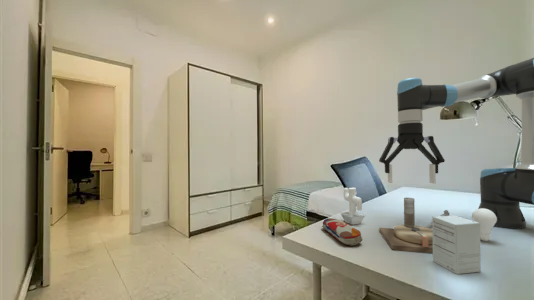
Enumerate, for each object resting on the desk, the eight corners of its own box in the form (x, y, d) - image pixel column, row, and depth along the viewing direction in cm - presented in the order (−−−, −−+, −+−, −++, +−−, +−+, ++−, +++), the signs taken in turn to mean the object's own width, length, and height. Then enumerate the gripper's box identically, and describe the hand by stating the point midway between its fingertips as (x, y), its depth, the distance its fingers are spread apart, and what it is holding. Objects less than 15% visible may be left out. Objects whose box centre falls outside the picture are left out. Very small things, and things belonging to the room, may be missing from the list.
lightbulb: (473, 236, 84) (473, 205, 84) (497, 240, 80) (497, 208, 80) (471, 240, 80) (471, 208, 80) (496, 246, 75) (496, 211, 75)
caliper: (447, 224, 98) (446, 209, 98) (450, 225, 97) (449, 209, 97) (419, 233, 88) (419, 216, 88) (422, 234, 87) (422, 217, 87)
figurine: (353, 227, 95) (353, 190, 95) (338, 220, 104) (338, 186, 104) (367, 224, 98) (367, 188, 98) (351, 218, 107) (351, 185, 107)
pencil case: (330, 247, 76) (329, 232, 76) (320, 227, 95) (320, 215, 95) (365, 248, 75) (365, 232, 75) (348, 228, 94) (348, 215, 94)
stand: (435, 235, 85) (435, 231, 85) (463, 255, 69) (463, 250, 69) (379, 231, 90) (379, 227, 90) (392, 250, 73) (392, 245, 73)
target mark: (426, 245, 72) (426, 236, 72) (428, 247, 71) (428, 237, 71) (422, 245, 73) (422, 235, 73) (423, 247, 72) (423, 237, 72)
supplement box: (454, 259, 67) (454, 214, 67) (481, 272, 59) (481, 222, 59) (431, 260, 66) (431, 215, 66) (456, 274, 58) (455, 224, 58)
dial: (449, 245, 72) (448, 206, 72) (404, 243, 74) (403, 205, 74) (425, 230, 85) (425, 197, 85) (388, 229, 86) (387, 197, 86)
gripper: (444, 122, 84) (445, 181, 84) (370, 125, 90) (371, 180, 90) (456, 120, 77) (457, 184, 77) (374, 123, 83) (375, 183, 83)
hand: (410, 182), depth 84 cm, fingers open, 13 cm apart
